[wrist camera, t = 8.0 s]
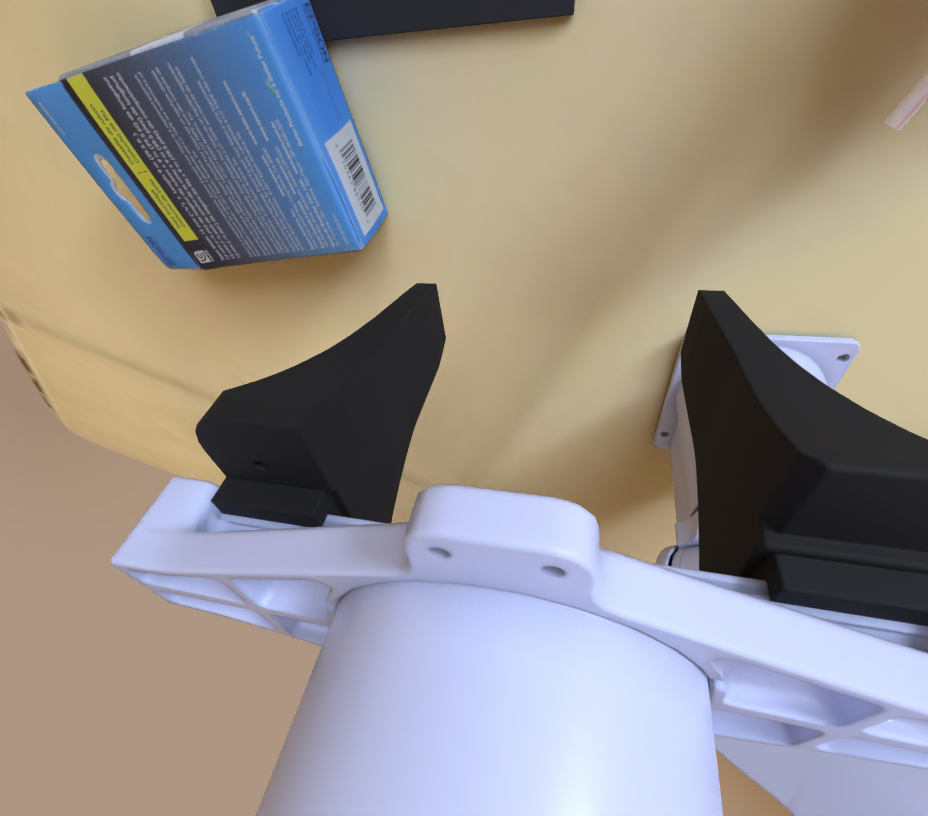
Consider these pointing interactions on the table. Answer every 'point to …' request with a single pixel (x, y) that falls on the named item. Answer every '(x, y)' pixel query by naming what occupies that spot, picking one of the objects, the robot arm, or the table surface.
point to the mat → (412, 14)
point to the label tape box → (225, 140)
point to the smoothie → (909, 104)
